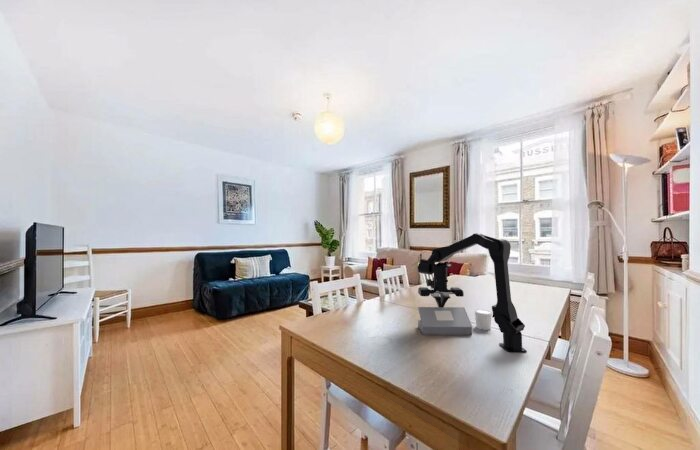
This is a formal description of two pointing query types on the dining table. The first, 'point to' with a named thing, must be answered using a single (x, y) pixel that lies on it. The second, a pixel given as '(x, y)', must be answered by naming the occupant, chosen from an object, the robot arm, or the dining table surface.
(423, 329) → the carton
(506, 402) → the dining table surface
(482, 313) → the shot glass
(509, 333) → the robot arm
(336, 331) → the dining table surface
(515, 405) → the dining table surface
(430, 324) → the lid flap
